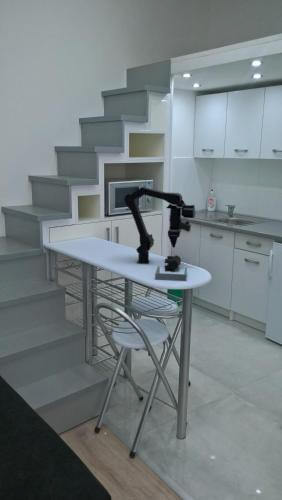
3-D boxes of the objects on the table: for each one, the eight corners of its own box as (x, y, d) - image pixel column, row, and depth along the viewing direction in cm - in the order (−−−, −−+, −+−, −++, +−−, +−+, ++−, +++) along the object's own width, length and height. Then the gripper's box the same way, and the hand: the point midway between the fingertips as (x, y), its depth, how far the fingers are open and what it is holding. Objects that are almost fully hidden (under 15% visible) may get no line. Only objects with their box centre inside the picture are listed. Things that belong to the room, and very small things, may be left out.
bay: (157, 271, 220) (157, 266, 220) (186, 273, 219) (186, 267, 218) (155, 279, 207) (155, 273, 207) (186, 280, 206) (186, 274, 205)
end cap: (177, 272, 220) (178, 259, 219) (164, 271, 222) (164, 258, 220) (180, 267, 230) (181, 255, 228) (167, 266, 231) (168, 254, 230)
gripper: (189, 220, 218) (188, 250, 222) (191, 215, 236) (190, 242, 240) (168, 219, 220) (167, 249, 223) (171, 214, 238) (170, 241, 241)
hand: (174, 245), depth 232 cm, fingers open, 9 cm apart
